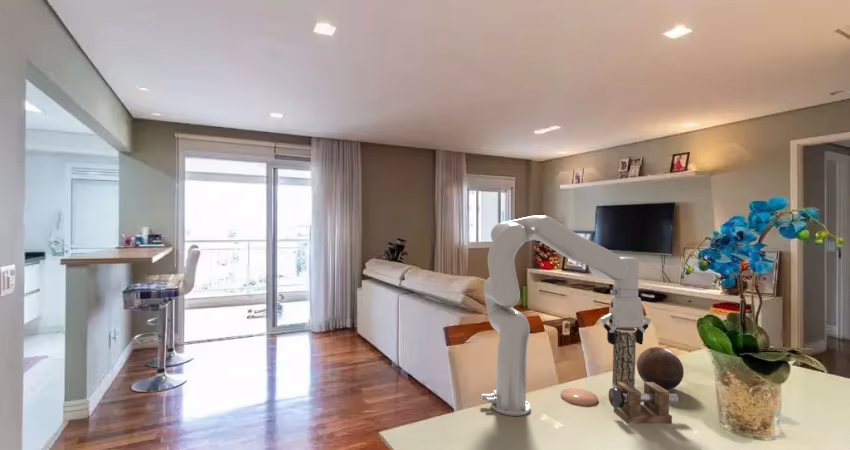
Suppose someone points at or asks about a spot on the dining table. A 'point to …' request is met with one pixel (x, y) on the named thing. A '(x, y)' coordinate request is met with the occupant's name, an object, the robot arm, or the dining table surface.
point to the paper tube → (624, 356)
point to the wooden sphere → (660, 367)
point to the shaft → (619, 398)
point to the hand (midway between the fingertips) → (625, 343)
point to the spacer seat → (579, 396)
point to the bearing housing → (649, 410)
